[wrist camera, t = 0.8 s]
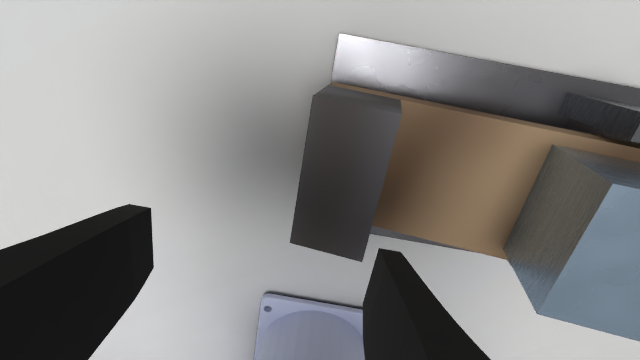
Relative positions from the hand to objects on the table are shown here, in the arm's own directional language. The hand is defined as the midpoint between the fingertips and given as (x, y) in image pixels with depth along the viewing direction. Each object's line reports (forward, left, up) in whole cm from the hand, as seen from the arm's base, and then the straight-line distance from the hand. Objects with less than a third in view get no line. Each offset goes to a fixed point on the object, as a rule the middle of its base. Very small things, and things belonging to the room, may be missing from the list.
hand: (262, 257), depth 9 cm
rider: (+1, -12, -5) cm, 13 cm away
